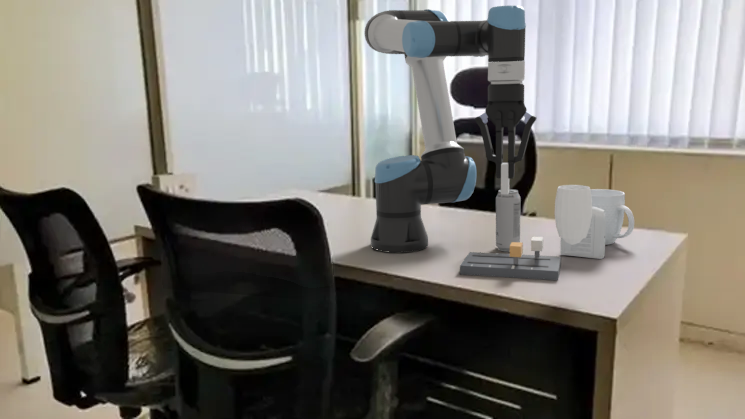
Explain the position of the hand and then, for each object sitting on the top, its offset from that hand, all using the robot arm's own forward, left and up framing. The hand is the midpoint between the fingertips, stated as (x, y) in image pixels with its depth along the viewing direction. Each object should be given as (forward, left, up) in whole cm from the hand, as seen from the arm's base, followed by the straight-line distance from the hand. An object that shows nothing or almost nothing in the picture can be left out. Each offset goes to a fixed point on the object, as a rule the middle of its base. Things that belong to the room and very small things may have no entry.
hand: (505, 193), depth 142 cm
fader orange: (+2, 0, -16) cm, 16 cm away
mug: (+21, +32, -18) cm, 42 cm away
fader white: (+6, +6, -16) cm, 18 cm away
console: (+1, +3, -18) cm, 18 cm away
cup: (+14, -7, -18) cm, 24 cm away
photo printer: (+16, +18, -18) cm, 30 cm away
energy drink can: (-2, +21, -18) cm, 28 cm away
